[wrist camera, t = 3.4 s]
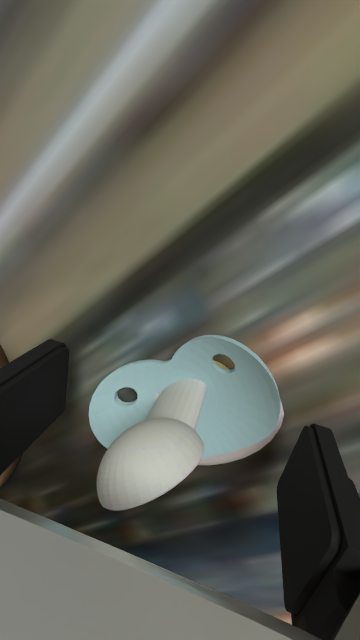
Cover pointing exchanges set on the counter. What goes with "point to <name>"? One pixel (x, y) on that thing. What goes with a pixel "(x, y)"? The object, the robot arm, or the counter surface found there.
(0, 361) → the walnut board
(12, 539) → the robot arm
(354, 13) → the counter surface
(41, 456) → the counter surface
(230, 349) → the pacifier
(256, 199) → the counter surface
